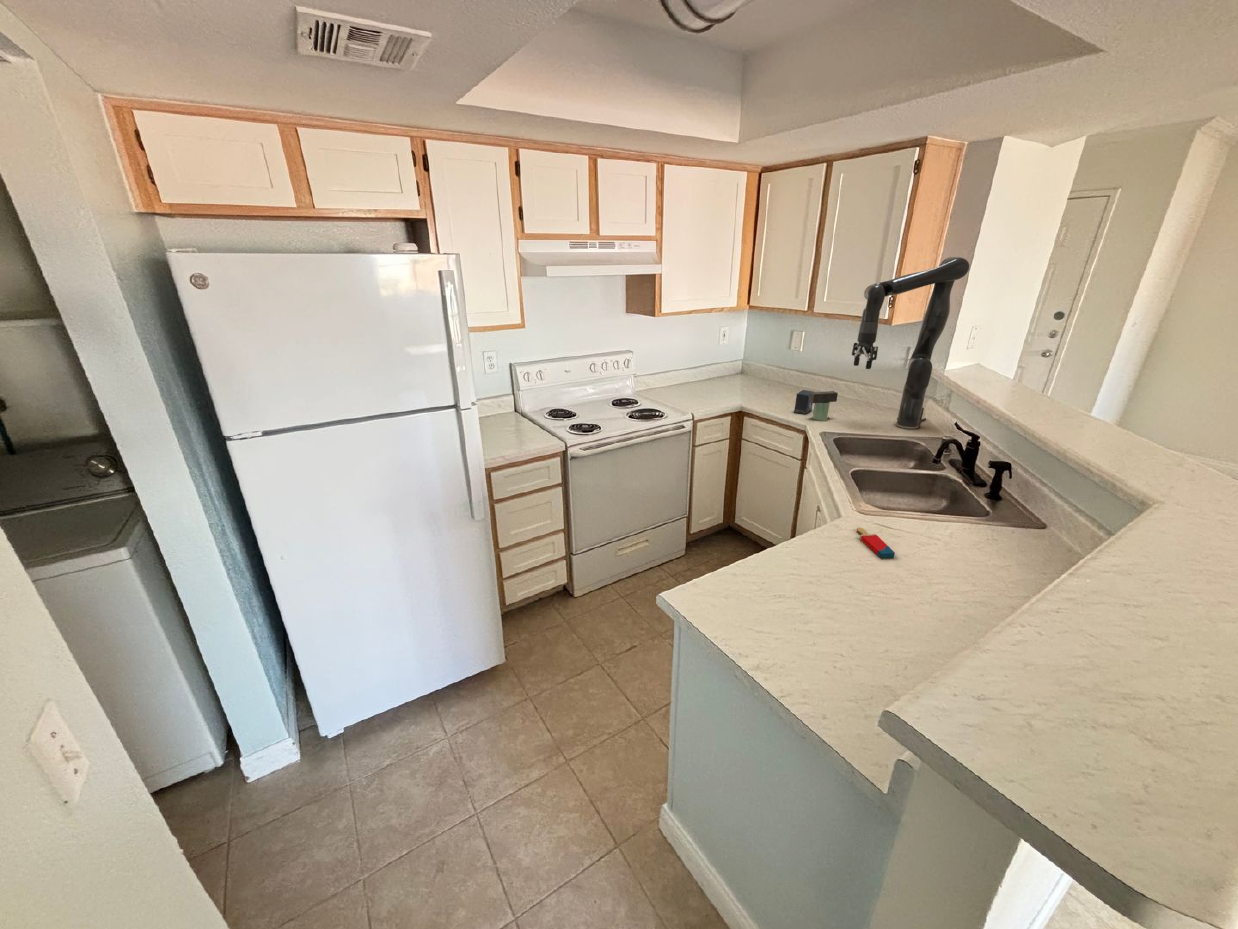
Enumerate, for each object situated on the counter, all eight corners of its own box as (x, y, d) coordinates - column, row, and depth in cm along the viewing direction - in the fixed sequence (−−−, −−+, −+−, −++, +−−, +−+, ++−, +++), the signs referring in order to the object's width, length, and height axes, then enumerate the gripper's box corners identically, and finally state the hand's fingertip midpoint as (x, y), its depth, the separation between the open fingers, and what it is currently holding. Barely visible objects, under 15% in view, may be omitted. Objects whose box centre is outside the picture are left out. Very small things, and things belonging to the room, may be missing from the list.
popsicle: (866, 525, 147) (896, 552, 134) (865, 530, 148) (895, 557, 134) (851, 526, 147) (880, 553, 133) (850, 530, 148) (879, 558, 134)
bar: (831, 399, 253) (833, 390, 251) (836, 401, 249) (837, 392, 247) (808, 401, 250) (809, 392, 249) (812, 403, 247) (814, 394, 245)
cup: (822, 416, 257) (824, 399, 253) (829, 420, 251) (832, 402, 247) (810, 417, 256) (812, 400, 252) (817, 421, 249) (820, 403, 246)
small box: (805, 414, 260) (808, 395, 256) (793, 412, 264) (795, 393, 260) (812, 410, 268) (815, 391, 264) (800, 408, 271) (802, 389, 267)
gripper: (886, 333, 221) (879, 369, 227) (865, 329, 234) (859, 364, 240) (871, 333, 219) (864, 370, 225) (850, 329, 232) (845, 364, 238)
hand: (861, 367), depth 233 cm, fingers open, 8 cm apart
